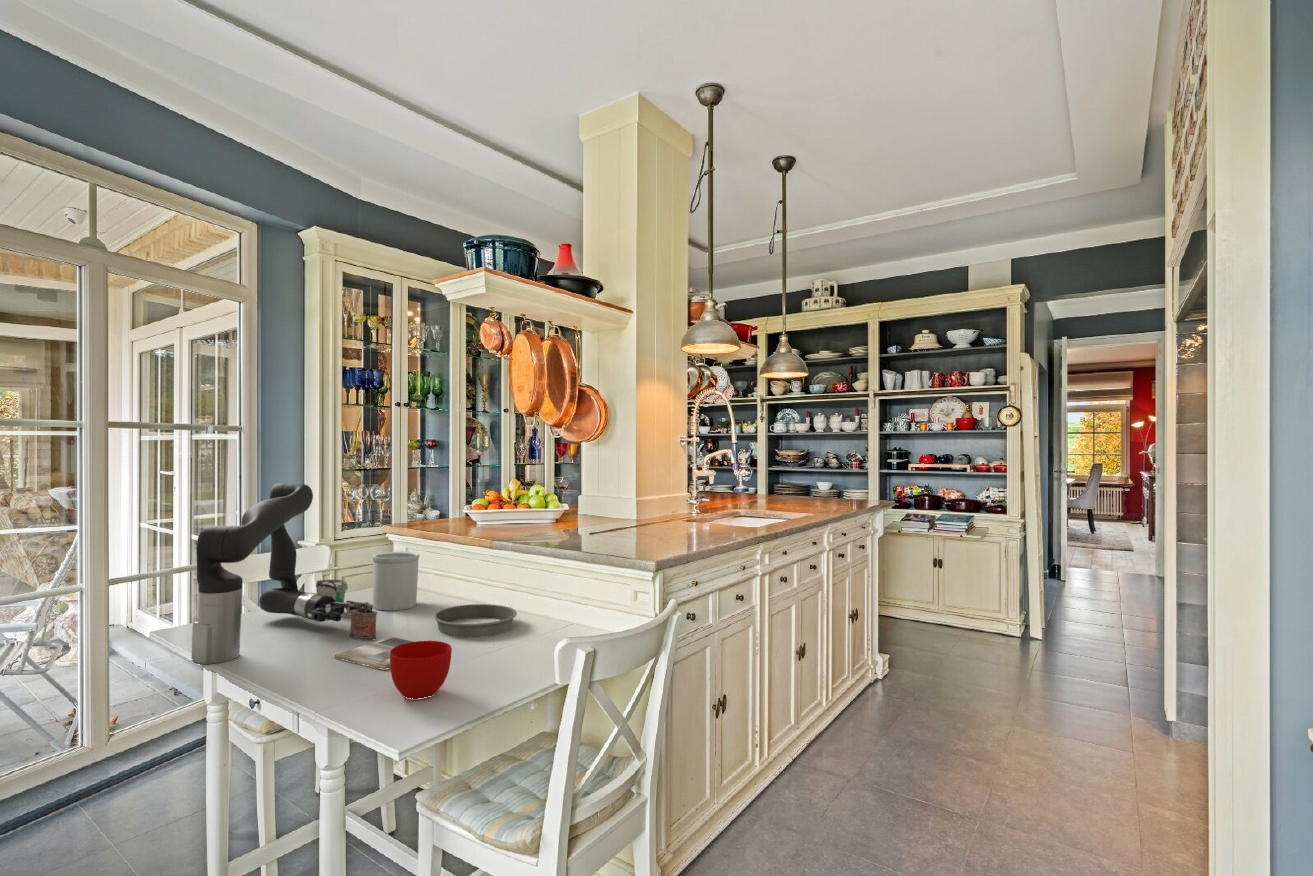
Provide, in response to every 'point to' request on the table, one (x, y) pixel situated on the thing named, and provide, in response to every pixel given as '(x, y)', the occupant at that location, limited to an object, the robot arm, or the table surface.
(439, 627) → the cake pan
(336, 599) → the food container
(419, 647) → the red bowl
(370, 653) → the book
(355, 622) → the lighter
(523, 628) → the table surface
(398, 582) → the utensil holder
